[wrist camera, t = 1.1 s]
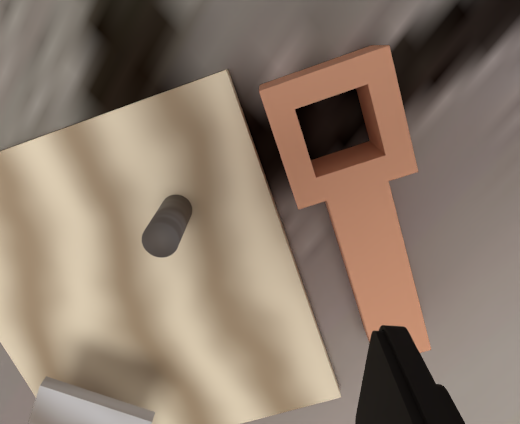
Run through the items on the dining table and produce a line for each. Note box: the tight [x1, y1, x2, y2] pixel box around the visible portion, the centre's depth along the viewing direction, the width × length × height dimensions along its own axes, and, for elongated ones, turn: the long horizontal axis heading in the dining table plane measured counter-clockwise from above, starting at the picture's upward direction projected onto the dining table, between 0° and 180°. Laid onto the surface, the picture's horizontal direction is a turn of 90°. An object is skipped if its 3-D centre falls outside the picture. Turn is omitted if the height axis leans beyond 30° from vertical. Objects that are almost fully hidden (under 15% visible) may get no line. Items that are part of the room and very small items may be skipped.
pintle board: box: [0, 69, 341, 424], centre depth 29 cm, size 22×25×7 cm
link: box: [259, 45, 431, 353], centre depth 28 cm, size 19×7×4 cm, turn 19°
